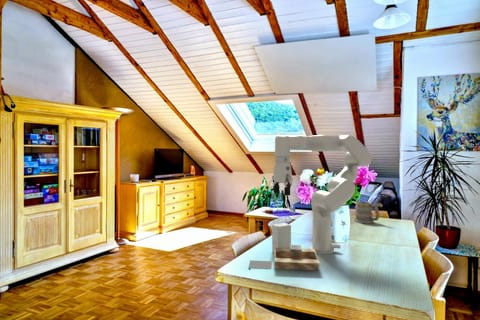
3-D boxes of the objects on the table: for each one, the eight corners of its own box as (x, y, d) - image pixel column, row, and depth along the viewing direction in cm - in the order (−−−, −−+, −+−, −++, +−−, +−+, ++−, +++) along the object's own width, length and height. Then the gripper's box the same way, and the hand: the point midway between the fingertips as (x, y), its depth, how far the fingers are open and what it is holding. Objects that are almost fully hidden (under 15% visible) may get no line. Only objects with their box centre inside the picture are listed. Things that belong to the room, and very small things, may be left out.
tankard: (351, 221, 245) (351, 201, 245) (359, 219, 254) (359, 199, 253) (377, 226, 230) (378, 204, 230) (385, 223, 239) (386, 202, 239)
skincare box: (285, 250, 174) (285, 222, 173) (291, 253, 168) (291, 224, 168) (271, 252, 170) (271, 223, 170) (277, 255, 165) (277, 226, 164)
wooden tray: (314, 259, 160) (314, 248, 160) (319, 274, 140) (320, 263, 140) (274, 257, 162) (274, 247, 162) (274, 272, 142) (274, 261, 142)
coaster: (271, 262, 155) (271, 261, 155) (271, 270, 145) (271, 268, 145) (250, 261, 156) (250, 260, 156) (248, 269, 146) (248, 267, 146)
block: (300, 262, 154) (300, 245, 154) (301, 267, 147) (301, 249, 147) (289, 261, 154) (289, 244, 154) (290, 267, 148) (290, 249, 147)
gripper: (298, 160, 159) (298, 196, 159) (279, 159, 174) (278, 191, 175) (285, 160, 156) (285, 196, 156) (267, 159, 171) (266, 192, 172)
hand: (281, 194), depth 166 cm, fingers open, 9 cm apart
